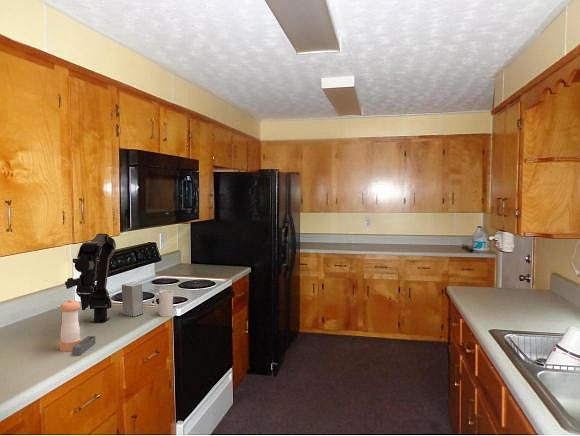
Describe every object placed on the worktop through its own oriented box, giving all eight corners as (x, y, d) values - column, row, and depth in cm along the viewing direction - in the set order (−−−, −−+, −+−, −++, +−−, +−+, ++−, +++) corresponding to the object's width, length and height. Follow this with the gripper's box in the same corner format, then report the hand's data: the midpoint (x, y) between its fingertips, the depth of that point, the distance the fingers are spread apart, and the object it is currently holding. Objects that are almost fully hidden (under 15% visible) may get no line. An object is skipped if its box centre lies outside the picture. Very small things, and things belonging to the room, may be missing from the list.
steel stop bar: (87, 343, 164) (88, 336, 164) (95, 343, 164) (95, 336, 164) (72, 355, 152) (72, 347, 152) (80, 355, 152) (80, 347, 152)
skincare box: (143, 314, 205) (144, 283, 204) (131, 317, 199) (132, 285, 198) (132, 311, 209) (133, 281, 208) (120, 314, 203) (121, 283, 202)
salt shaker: (60, 353, 154) (61, 303, 152) (58, 346, 159) (58, 298, 158) (82, 349, 158) (82, 300, 157) (78, 343, 164) (79, 296, 163)
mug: (175, 313, 207) (175, 290, 207) (168, 317, 201) (169, 293, 200) (157, 312, 210) (157, 289, 209) (150, 315, 203) (150, 292, 202)
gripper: (71, 270, 180) (67, 306, 178) (64, 271, 162) (59, 311, 160) (98, 271, 184) (94, 306, 182) (94, 272, 166) (90, 311, 164)
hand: (84, 309), depth 172 cm, fingers open, 9 cm apart
